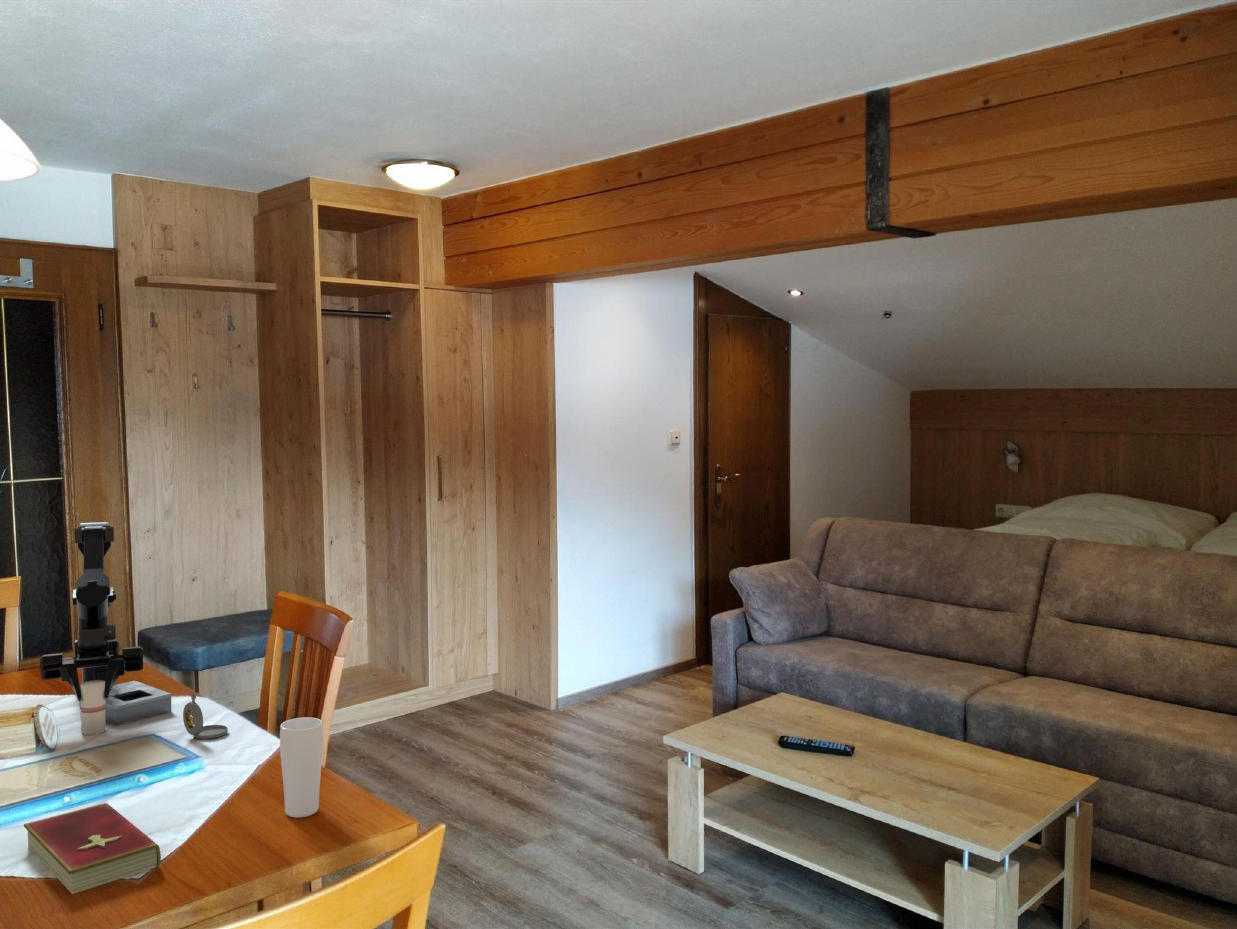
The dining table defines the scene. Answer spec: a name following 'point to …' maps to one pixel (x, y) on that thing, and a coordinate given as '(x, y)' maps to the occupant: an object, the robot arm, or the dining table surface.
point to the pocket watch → (199, 722)
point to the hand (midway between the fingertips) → (92, 698)
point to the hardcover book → (91, 847)
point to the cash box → (135, 702)
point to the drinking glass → (301, 764)
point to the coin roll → (93, 707)
